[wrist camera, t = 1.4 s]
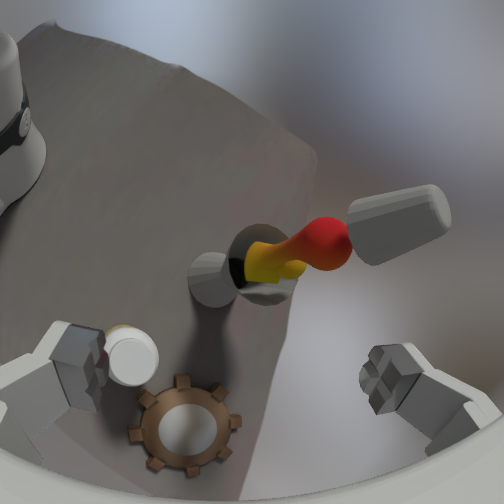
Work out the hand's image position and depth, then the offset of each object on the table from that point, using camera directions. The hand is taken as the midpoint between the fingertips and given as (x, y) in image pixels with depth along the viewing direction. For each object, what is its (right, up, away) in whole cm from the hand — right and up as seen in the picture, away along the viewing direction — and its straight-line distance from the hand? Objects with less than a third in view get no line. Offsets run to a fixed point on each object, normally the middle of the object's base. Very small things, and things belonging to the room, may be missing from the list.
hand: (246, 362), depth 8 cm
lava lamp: (-6, -1, +36) cm, 37 cm away
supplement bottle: (-17, -10, +27) cm, 34 cm away
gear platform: (-10, -23, +28) cm, 38 cm away
